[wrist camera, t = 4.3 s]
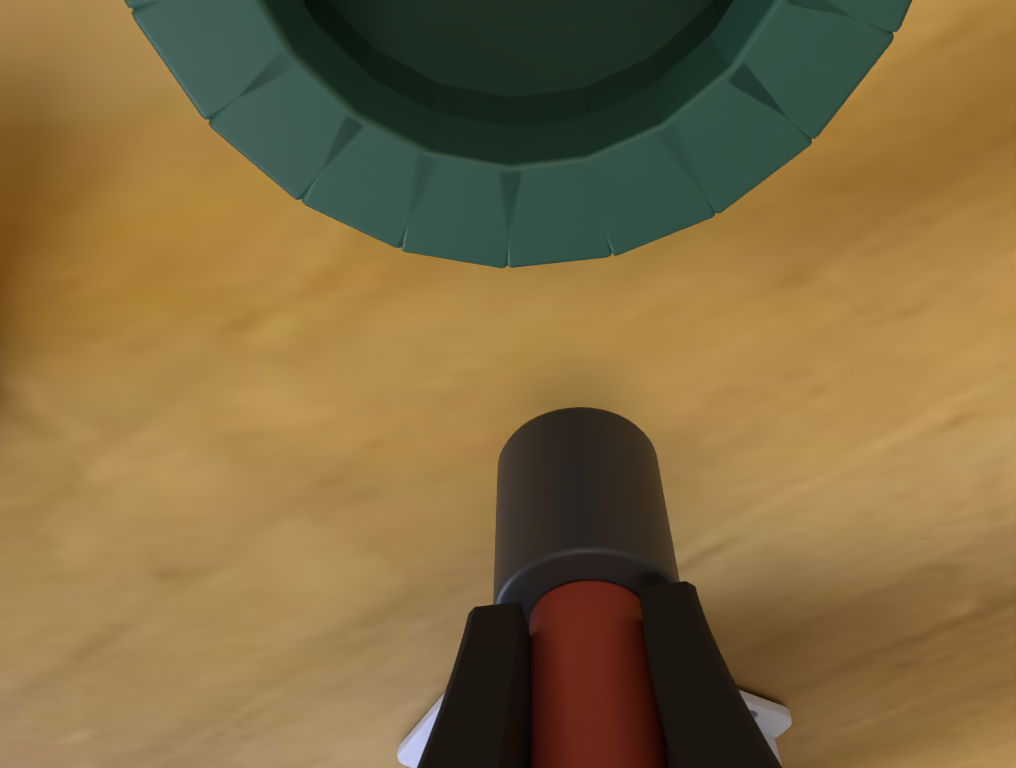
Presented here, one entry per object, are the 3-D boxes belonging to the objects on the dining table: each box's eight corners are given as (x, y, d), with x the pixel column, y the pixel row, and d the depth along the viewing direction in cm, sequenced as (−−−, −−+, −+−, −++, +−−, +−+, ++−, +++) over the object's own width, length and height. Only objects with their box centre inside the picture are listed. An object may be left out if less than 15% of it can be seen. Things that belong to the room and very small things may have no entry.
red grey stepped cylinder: (688, 444, 14) (826, 1043, 8) (601, 541, 16) (658, 1118, 9) (548, 380, 13) (572, 984, 7) (470, 489, 15) (430, 1075, 8)
